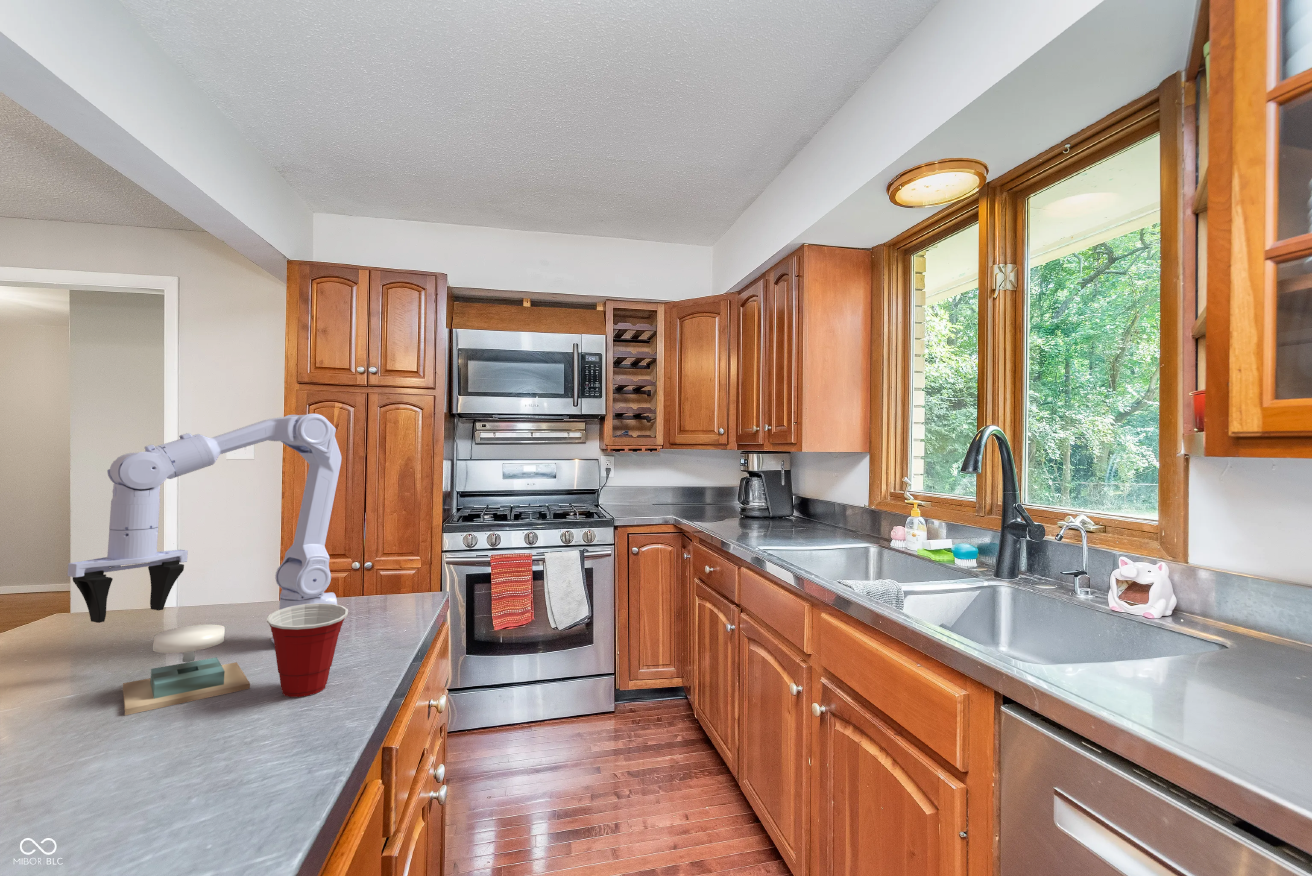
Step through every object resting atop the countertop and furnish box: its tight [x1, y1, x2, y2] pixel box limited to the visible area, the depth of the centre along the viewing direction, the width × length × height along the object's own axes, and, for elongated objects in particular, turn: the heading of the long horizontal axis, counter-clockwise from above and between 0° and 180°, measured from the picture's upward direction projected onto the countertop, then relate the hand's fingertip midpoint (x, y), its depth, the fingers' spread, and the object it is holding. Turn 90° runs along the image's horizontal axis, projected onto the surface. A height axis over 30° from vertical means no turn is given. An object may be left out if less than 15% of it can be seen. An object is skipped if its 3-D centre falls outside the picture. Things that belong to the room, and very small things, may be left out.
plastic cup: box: [266, 603, 349, 698], centre depth 87 cm, size 11×11×12 cm
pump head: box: [152, 623, 226, 663], centre depth 86 cm, size 8×8×4 cm
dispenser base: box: [122, 657, 251, 716], centre depth 86 cm, size 14×12×3 cm
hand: (128, 615), depth 88 cm, fingers open, 7 cm apart
